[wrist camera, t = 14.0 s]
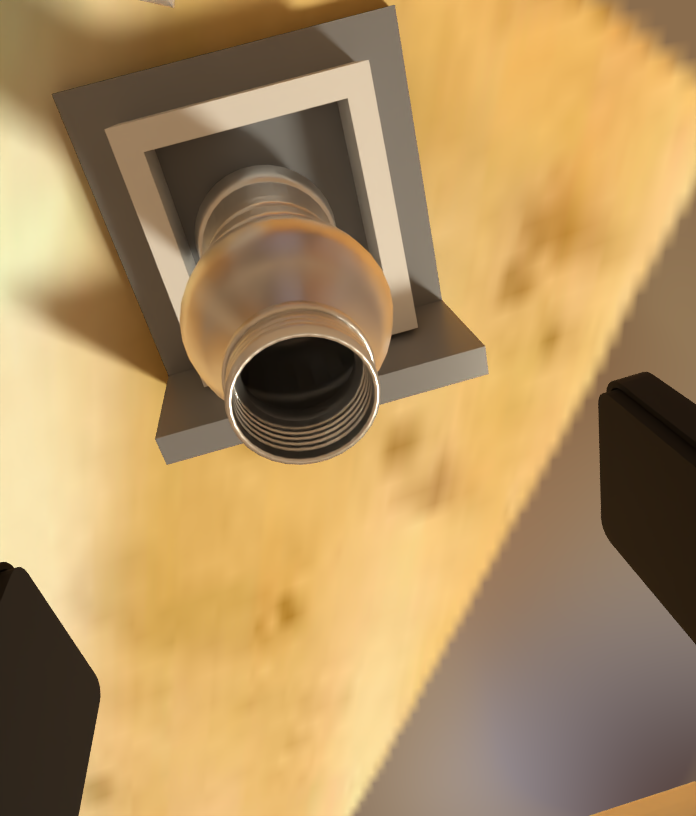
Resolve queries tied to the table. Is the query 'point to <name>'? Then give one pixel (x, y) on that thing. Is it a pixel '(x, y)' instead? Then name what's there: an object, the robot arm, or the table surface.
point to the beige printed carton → (162, 2)
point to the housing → (279, 146)
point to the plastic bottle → (285, 316)
